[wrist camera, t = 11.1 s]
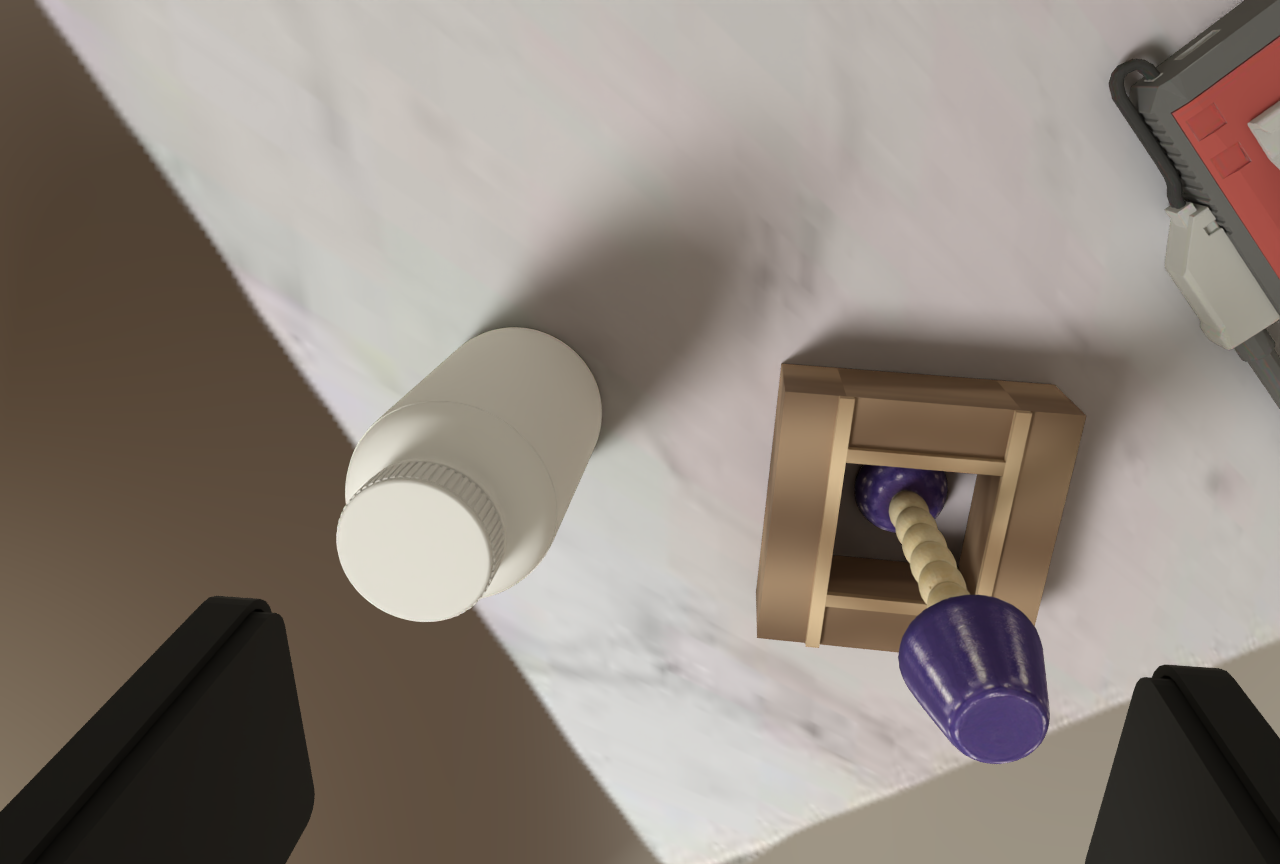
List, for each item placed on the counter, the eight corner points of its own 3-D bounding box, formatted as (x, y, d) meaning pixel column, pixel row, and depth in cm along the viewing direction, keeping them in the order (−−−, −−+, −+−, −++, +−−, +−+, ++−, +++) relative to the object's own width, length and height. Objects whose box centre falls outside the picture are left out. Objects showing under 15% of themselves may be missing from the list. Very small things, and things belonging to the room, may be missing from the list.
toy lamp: (972, 462, 41) (1106, 687, 26) (935, 548, 43) (1041, 806, 28) (871, 435, 42) (946, 643, 26) (838, 521, 43) (890, 764, 28)
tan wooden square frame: (781, 363, 41) (785, 393, 37) (1054, 384, 40) (1089, 418, 36) (756, 592, 45) (757, 641, 41) (1001, 616, 44) (1026, 669, 40)
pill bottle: (476, 292, 41) (340, 399, 27) (633, 372, 42) (577, 516, 28) (416, 434, 44) (264, 596, 30) (562, 506, 45) (481, 699, 31)
